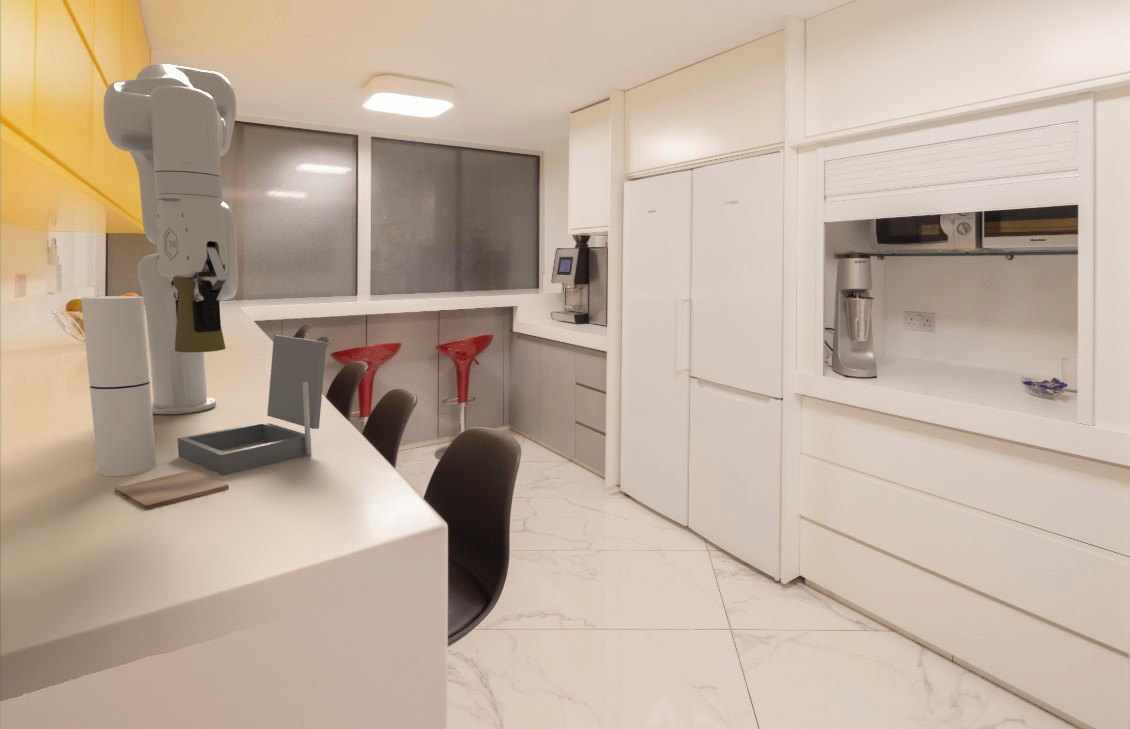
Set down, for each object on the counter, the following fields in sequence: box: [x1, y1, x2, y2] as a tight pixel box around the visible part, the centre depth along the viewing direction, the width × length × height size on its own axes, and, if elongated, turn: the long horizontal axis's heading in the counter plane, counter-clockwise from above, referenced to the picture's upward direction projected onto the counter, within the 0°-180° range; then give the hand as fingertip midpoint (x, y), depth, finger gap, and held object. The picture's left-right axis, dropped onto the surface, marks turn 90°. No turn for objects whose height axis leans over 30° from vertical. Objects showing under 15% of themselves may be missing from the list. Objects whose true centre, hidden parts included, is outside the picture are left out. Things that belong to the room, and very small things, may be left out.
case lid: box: [266, 334, 327, 430], centre depth 107 cm, size 14×14×1 cm
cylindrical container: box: [81, 295, 158, 477], centre depth 93 cm, size 7×7×25 cm
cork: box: [173, 272, 226, 353], centre depth 86 cm, size 6×6×11 cm
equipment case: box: [177, 382, 312, 476], centre depth 101 cm, size 15×14×12 cm
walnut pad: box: [114, 469, 230, 510], centre depth 86 cm, size 10×10×1 cm
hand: (199, 328), depth 87 cm, fingers closed on cork, 4 cm apart
